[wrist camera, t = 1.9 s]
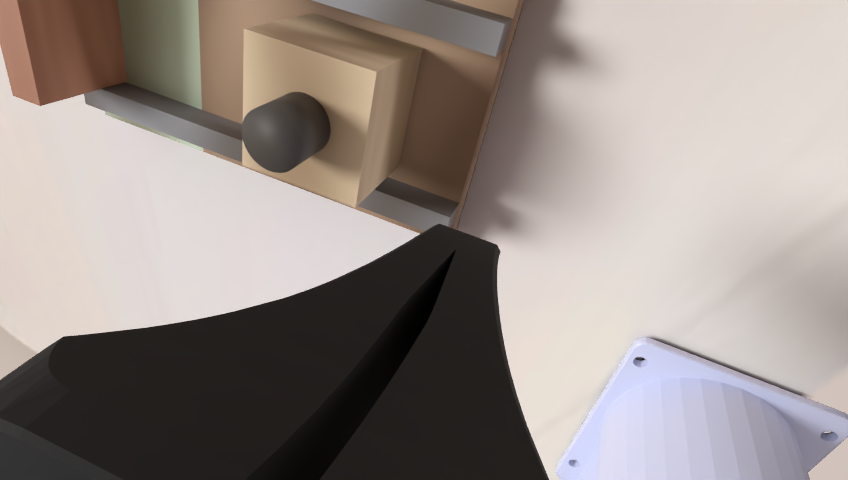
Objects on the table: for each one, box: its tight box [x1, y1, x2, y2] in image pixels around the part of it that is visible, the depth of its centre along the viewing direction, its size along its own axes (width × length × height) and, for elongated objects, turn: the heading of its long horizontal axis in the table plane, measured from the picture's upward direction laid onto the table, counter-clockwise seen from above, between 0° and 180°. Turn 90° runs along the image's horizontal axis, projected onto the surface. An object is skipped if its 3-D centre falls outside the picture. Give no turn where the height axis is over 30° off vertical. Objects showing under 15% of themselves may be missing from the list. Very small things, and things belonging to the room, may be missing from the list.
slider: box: [242, 13, 423, 208], centre depth 16 cm, size 4×4×5 cm
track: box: [0, 0, 524, 234], centre depth 17 cm, size 16×9×5 cm, turn 77°
